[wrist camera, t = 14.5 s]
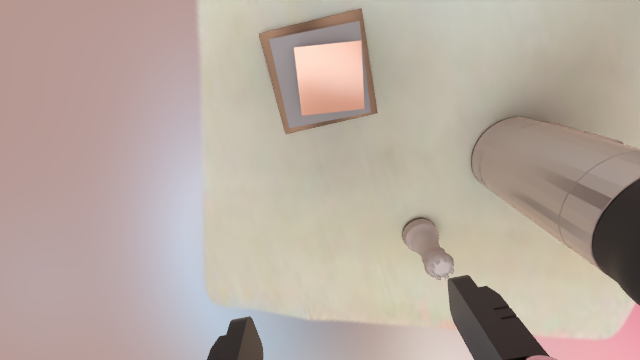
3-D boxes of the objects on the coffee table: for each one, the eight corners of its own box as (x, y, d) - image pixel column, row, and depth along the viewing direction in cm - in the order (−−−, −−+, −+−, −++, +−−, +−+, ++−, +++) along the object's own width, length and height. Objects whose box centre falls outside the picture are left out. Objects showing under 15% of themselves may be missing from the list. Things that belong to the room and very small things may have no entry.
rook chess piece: (397, 224, 41) (417, 261, 33) (430, 212, 40) (457, 247, 33) (406, 250, 42) (428, 292, 35) (438, 239, 42) (467, 278, 34)
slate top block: (354, 24, 30) (359, 20, 27) (365, 107, 33) (370, 112, 30) (272, 40, 30) (269, 39, 27) (290, 122, 33) (289, 128, 30)
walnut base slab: (356, 12, 32) (361, 8, 29) (372, 108, 36) (377, 113, 33) (262, 35, 33) (258, 33, 30) (287, 128, 36) (285, 134, 33)
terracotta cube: (351, 43, 28) (361, 40, 23) (354, 100, 29) (364, 108, 25) (295, 49, 28) (293, 47, 23) (302, 106, 29) (301, 115, 25)
